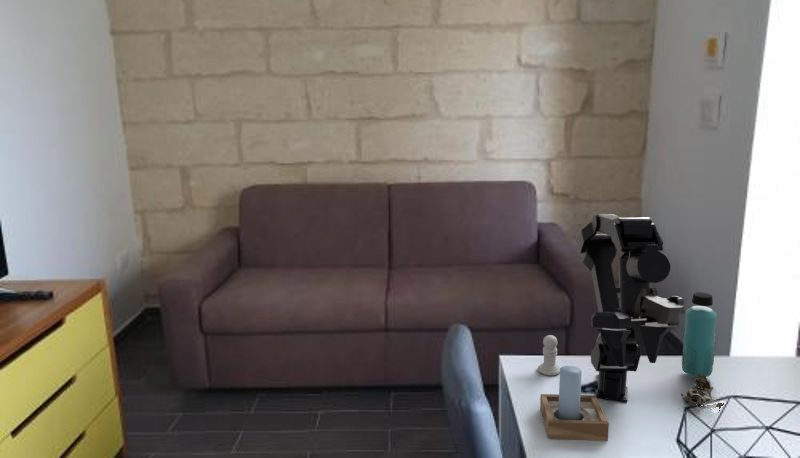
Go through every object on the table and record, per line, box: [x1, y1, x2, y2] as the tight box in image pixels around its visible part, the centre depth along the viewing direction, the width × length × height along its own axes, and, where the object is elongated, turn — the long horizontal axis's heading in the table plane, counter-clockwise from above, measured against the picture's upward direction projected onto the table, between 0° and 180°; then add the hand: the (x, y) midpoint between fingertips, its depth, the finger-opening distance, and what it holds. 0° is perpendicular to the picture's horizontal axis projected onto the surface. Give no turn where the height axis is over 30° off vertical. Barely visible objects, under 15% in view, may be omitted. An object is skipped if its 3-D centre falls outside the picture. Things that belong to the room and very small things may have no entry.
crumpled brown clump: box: [680, 374, 724, 412], centre depth 126 cm, size 12×6×11 cm
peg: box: [558, 365, 583, 420], centre depth 117 cm, size 4×4×12 cm
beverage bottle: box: [680, 291, 718, 378], centre depth 136 cm, size 6×7×20 cm
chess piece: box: [537, 334, 561, 377], centre depth 141 cm, size 5×5×9 cm
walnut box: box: [539, 393, 610, 442], centre depth 119 cm, size 11×11×4 cm
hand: (637, 364), depth 114 cm, fingers open, 9 cm apart
